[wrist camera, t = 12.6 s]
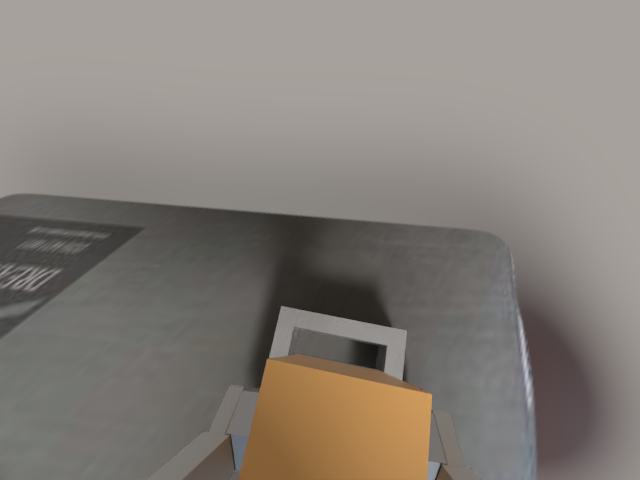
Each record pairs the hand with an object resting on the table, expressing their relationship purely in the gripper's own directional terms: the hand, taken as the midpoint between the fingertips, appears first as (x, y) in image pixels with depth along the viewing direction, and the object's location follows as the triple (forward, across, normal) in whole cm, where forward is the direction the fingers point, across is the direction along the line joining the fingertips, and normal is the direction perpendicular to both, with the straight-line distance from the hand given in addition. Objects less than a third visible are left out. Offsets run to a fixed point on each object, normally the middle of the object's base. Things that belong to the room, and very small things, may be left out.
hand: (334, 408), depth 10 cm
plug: (+3, 0, +4) cm, 5 cm away
